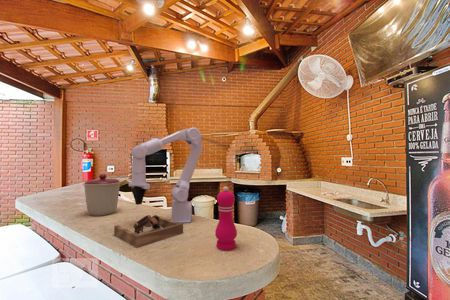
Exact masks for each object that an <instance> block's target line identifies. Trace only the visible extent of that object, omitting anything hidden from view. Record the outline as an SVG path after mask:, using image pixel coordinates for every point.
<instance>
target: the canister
mask: <svg viewBox="0 0 450 300" xmlns="http://www.w3.org/2000/svg"><path fill="white" fill-rule="evenodd" d="M121 183H122V181H121V180H119V179H117V178H107V174H106V173H101V174H99V175H98V178H96V179H89V180H87V181H84V182H83V183H82V186H84V194H85V195H84V196H85V202H86V210H87V212H88V214H89V215H90V216H95V217H96V216H97V217H98V216H107V215H111V214H113V213H115V212H116V210H117V207H118V204H119V197H120V196H119V195H120V194H119V193H120V186H121Z"/></svg>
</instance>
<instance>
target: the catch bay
mask: <svg viewBox="0 0 450 300" xmlns="http://www.w3.org/2000/svg"><path fill="white" fill-rule="evenodd" d="M157 216H158V217H159V226H160V228H161V229H158V228H157V229H158V230H157V229H153V230H151V231H147V232H145V233H144V232H143V233H139V234H137V233H135V232H134V231H132V230H129V229H128V228H125V227H124V226H121V225H119V224H116V225H114V227H113V231H114V232H113V233H114V234H113V235H114V236H115V237H117V238H118V239H120V240H121V241H122V240H123V241H125V242H126V243H128V244H130V245H132V246H133V247H134V248H135V247H136V248H140V247H143V246H147V245H150V244H152V243H153V244H154V243H155V242H159V241H162V240H165V239H168V238H172V237H175V236H177V235H182V234H184V224H183V223H178V222H175V221H172V220H171V219H168V218H165V217H162V216H159V215H157Z"/></svg>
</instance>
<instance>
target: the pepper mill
mask: <svg viewBox="0 0 450 300" xmlns="http://www.w3.org/2000/svg"><path fill="white" fill-rule="evenodd" d="M235 199H236V197H235V194H234V193H233V192H232V191H230V190H229V187H228V186H223V188H222V191H220V192H219V193H218V194H217V196H216V201H217V204H218V206H217V207H218V211H219V220H218V223H217V225H216V227H215V231H214V232H215V234H214V235H215V237H216V239H217V241H216V247H217V249H219V250H222V251H230V250H234V249H235V248H236V243H237V242H236V240H235V239H236V238H237V236H238V232H237V230H238V229H237V227H236V225H235V223H234V219H233V211H234V205H233V204H235V201H236V200H235Z"/></svg>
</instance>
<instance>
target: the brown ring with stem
mask: <svg viewBox="0 0 450 300" xmlns="http://www.w3.org/2000/svg"><path fill="white" fill-rule="evenodd" d="M158 216H159V215H156V214H155V215H152V216H151V215H150V214H148V215H145V216H143V217H142V218H141V219H139V220H138V221H137V222H136V223H134V225H133V228H134V231H133V232H134V233H136V234H139V235H140V232H142V233H144V228H152V230H158V229H162V227H160V226H159V217H160V216H159V217H158Z"/></svg>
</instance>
